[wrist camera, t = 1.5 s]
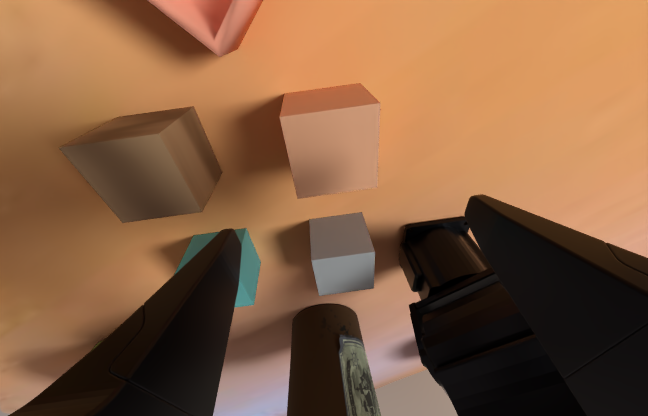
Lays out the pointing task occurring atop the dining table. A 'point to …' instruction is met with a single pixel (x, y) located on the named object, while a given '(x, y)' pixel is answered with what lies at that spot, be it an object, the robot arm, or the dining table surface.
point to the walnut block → (148, 164)
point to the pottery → (212, 20)
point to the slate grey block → (341, 254)
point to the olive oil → (329, 365)
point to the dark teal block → (247, 267)
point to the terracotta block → (332, 139)
